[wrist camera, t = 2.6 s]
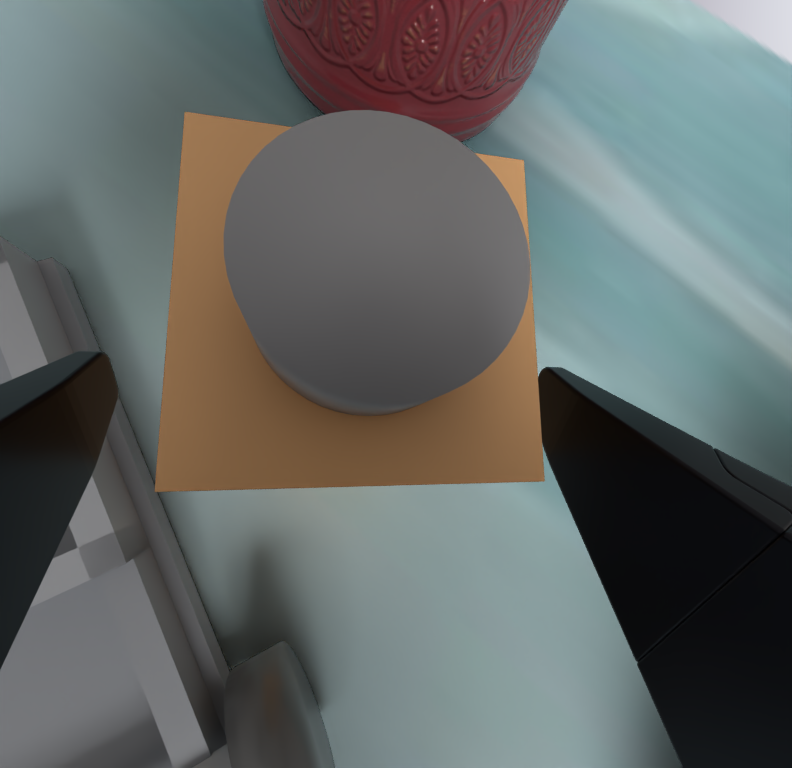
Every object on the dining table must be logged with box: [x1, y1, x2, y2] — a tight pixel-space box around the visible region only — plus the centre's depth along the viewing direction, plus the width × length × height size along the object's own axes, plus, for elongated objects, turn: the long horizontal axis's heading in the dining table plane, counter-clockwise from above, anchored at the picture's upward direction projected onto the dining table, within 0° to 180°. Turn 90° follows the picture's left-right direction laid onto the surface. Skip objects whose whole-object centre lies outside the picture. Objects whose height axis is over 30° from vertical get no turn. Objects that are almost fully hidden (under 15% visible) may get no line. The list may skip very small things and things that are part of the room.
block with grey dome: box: [155, 110, 545, 492], centre depth 11 cm, size 5×5×14 cm
